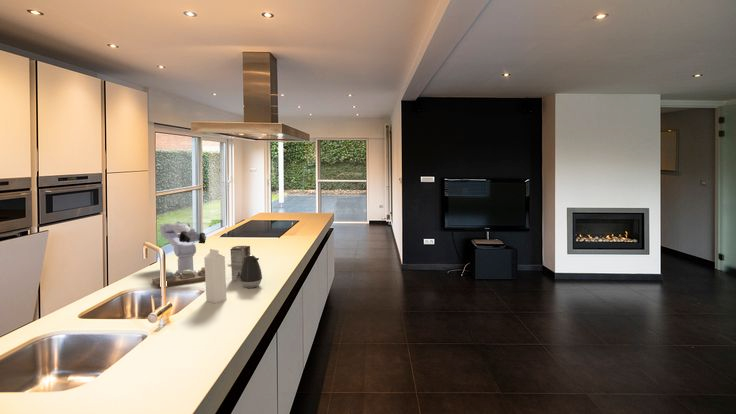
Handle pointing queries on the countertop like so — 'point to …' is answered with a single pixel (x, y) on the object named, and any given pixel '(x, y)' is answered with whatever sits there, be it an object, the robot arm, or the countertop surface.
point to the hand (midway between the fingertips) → (196, 241)
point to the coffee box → (238, 260)
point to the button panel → (181, 279)
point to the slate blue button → (169, 274)
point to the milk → (215, 277)
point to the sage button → (187, 272)
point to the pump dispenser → (250, 272)
